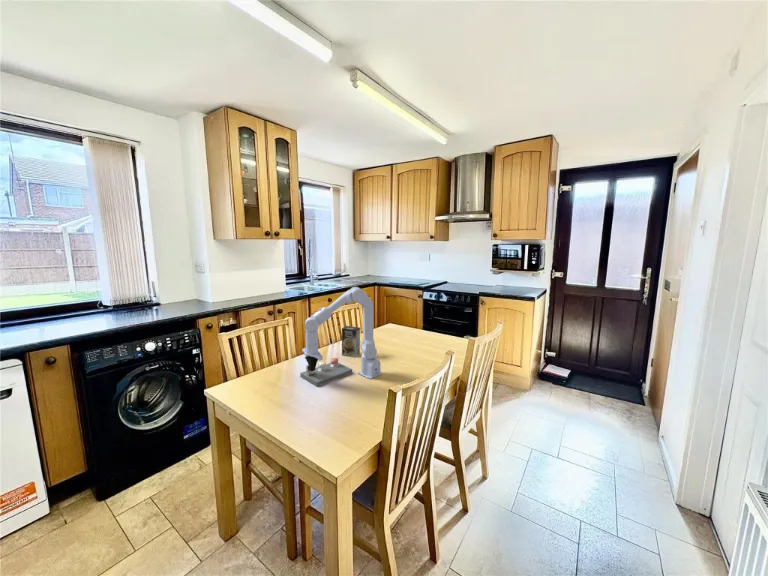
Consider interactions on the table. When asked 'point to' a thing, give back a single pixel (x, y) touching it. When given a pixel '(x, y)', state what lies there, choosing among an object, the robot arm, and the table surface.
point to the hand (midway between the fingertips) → (312, 370)
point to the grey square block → (309, 371)
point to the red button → (334, 361)
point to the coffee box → (350, 341)
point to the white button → (322, 365)
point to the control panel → (326, 374)
